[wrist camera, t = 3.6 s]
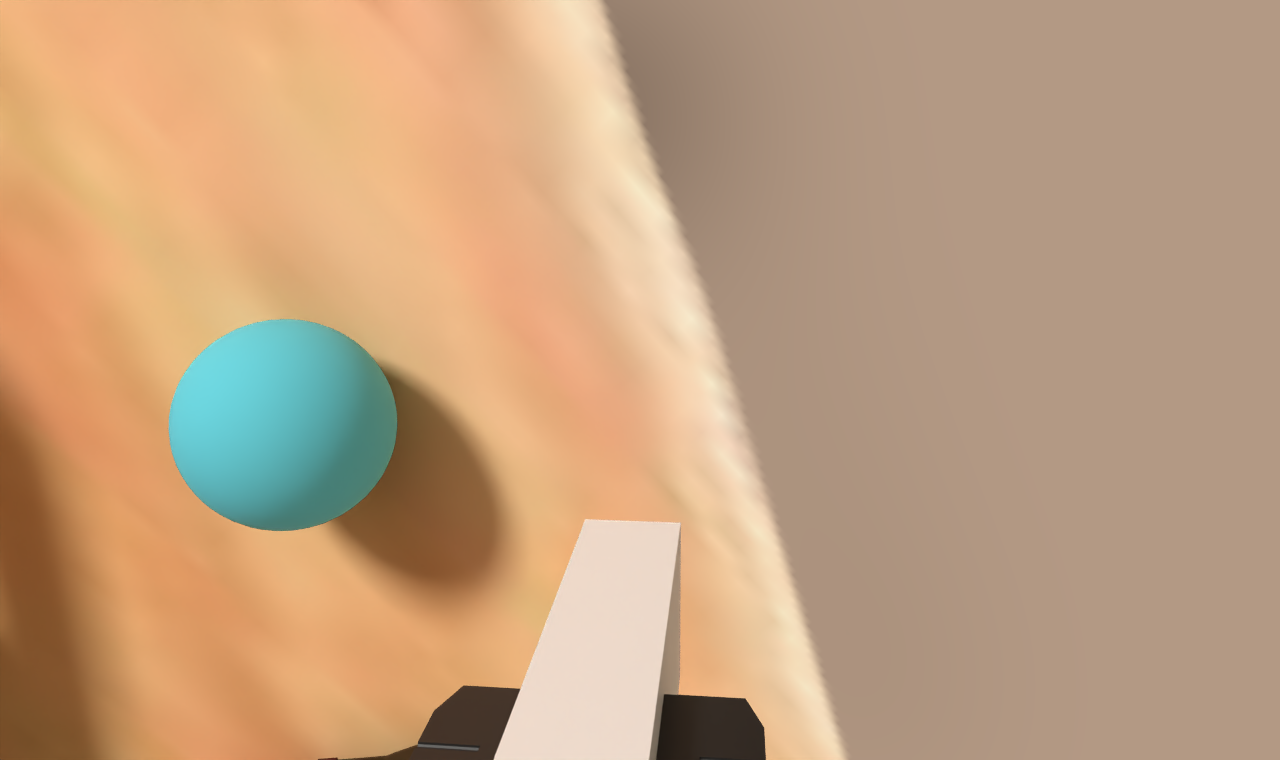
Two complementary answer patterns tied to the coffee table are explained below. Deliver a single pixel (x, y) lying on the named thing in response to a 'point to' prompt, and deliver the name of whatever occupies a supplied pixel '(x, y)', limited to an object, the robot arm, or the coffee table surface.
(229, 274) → the coffee table surface
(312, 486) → the ball
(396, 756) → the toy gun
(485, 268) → the coffee table surface
